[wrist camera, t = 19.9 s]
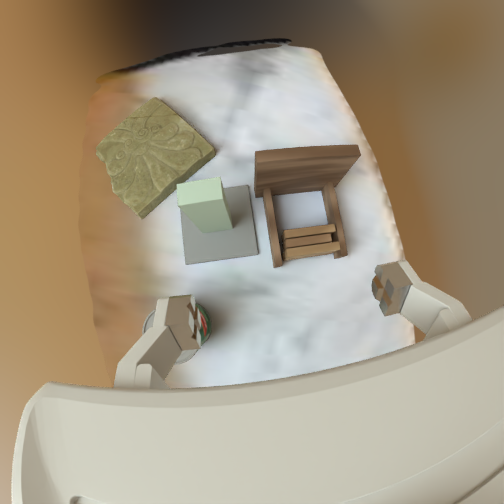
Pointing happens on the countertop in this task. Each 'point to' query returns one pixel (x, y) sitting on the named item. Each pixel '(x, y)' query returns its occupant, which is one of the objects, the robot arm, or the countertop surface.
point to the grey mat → (222, 232)
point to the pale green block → (205, 204)
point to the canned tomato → (204, 332)
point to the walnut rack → (303, 183)
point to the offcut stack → (308, 242)
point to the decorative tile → (152, 155)
